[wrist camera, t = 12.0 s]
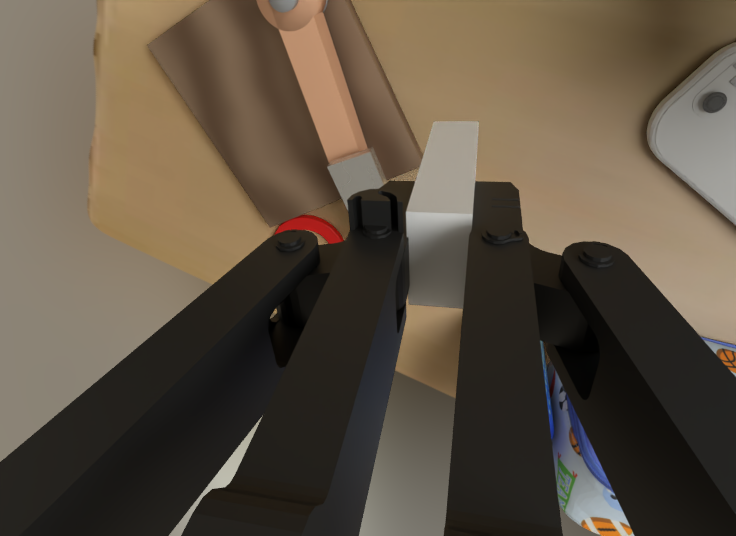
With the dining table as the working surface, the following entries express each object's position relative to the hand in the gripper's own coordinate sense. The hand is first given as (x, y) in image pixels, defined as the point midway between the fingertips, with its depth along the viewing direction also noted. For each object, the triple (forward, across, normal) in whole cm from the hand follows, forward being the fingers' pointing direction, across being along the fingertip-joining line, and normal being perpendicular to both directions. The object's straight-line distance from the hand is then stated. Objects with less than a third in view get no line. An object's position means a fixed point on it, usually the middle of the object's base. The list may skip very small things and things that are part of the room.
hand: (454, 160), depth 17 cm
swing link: (+24, -12, -3) cm, 27 cm away
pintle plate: (+26, -16, -5) cm, 31 cm away
